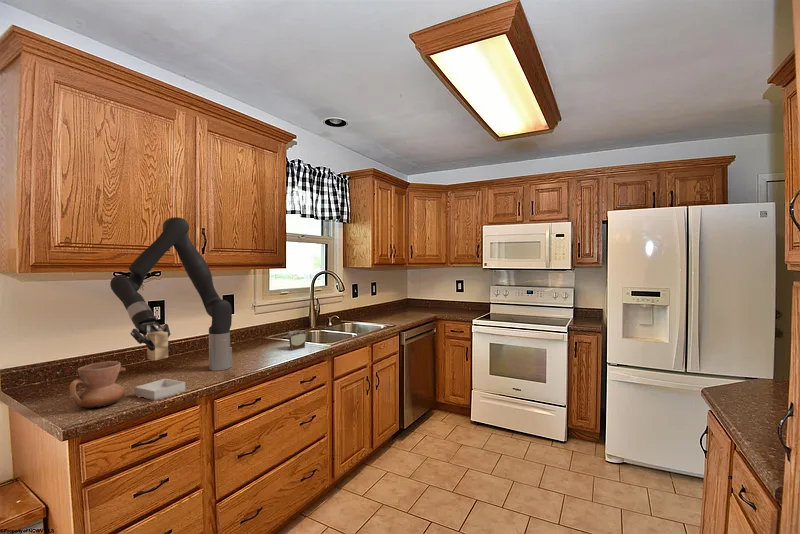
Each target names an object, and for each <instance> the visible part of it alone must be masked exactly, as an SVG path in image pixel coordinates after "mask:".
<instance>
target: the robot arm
mask: <svg viewBox="0 0 800 534" xmlns="http://www.w3.org/2000/svg"><path fill="white" fill-rule="evenodd" d="M189 230H190V225H189V222H188V221H187V220H186V219H185V218H182V217H178V216H177V217H175V216H174V217H169V218H167V219H166V220H165V221H163V223H162V232H161V233H160V235H159V236H158V237H157V238H156V239H155V240H154V242H152V243H151V244H150V245H149V246H147V248H146V249H144V250H143V251H142V252H141V253H140V254H139V255H138V256H137V257H136V258H135V259H134V260H133V262H132V263H131V264H130V265H129V266H128V271H129V272H130V274H129V277H127V276H126V275H123V274H119V275H116V276H113V277H112V278H111V280H110V283H109V285H110V286H109V287H110V288H111V291H112V292H113V293H114V295H115V296H116V297H117V298H118V299H119V300H120V301H121V303H122V304H123V307H124V308H125V310H126V311H127V314H128V317H129V318H130V320H131V322H132V324H133V326H134V327H135V328H133V329H132V330H131V332H130V333H129V334H130V335H131V336H132V337H133V339H134V340H135V341H136V342H137V343H138V344H139V345H141V344H145V345H146V348H147V347H148V349H149V350H151V351H154V349H155V346H154V344H153V343H152V341H151V340H150V337H149V334H148V333H152V332H160V331H163V332H168V338H169V337H170V336H171V332H170V331H171V330H170V328H169V324H168V323H165V324H160V323H159V322H158V319H157V318H156V316H155V314H154V312H153V311H152V309H151V307H150V305H148V304H147V302H146V301H145V299H144V297H143V296H142V294H141V293H139V292H138V291H139V290H140V288H141V287H142V284H143V282H144V280H145V279H146V277H147V275H148V274H149V273H150V272H151V270H152V269H153V268H154V267H155V266H156V265H157V263H158V262H159V261H160V260H161V259H162V257H164V255H165V254H166V253H167V252H168V251H169V250H170V249H171V248H172V247H174V249H175V251H176V253H177V256H178V258H179V260H180V262H181V264H182V267H183V268H184V270H185V273H186V274H187V276H188V278H189V279H190V281H191V283H192V285H193V287H194V288H195V290H196V292H197V293H198V294H199V296H200V298H201V301H202V305H203V306H204V307H203V308H204V310H205V312H206V313H207V315H209V317H211V325H210V326H209V327H208V370H210V371H212V372H213V371H214V372H215V371H216V372H217V371H224V370H229V369H230V368H231V367H233V348H232V346H231V327H232V319H233V318H232V317H233V316H232V315H233V310H232V309H233V308H232V305H231V303H230V301H228V300H225V299H221V297H220V296H219V294H218V293H217V291H216V288H215V286H214V282H213V275H212V272H211V269H210V268H209V265H208V263H207V262H206V260H205V258H204V256H203V255H201V253H200V251H198V249H197V248H196V247H195V246H194V244H193V243H192V241H191V239H190V237H189V235H188V233H189ZM170 345H171V342H170V340H168V348H169V347H170Z"/></svg>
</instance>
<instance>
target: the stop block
mask: <svg viewBox="0 0 800 534" xmlns="http://www.w3.org/2000/svg"><path fill="white" fill-rule="evenodd" d="M148 334H149V337H150V340H151V341H152V343H153V344H154V346H155V349H154V351H151V350H149V349H148V347H147V346H146V349H147V350H146V353H147V360H152V361H159V360H163V359H167V358H169V347H168V341H169V337H168V332H163V331H160V332H152V333H148Z"/></svg>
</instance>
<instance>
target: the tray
mask: <svg viewBox="0 0 800 534" xmlns="http://www.w3.org/2000/svg"><path fill="white" fill-rule="evenodd" d="M183 392H184V393H185V392H186V382H185V381H181V380H176V379H170V378H162V379H158V380H154V381H152V382H151V381H150V382H147V383H144V384H140V385H137V386H134V396H135V395H136V396H140V397H144V398H147V399H146V400H148V399H151V400H150V401H153V400H154V401H153V402H156V401H158V399H159V400H162V399H165V398H168V397H169V398H170V397H171V396H175V395H177V394H180V393H183ZM136 396H135V397H136ZM140 397H139V398H140ZM144 398H143V399H144ZM155 400H156V401H155Z"/></svg>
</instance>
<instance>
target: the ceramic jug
mask: <svg viewBox="0 0 800 534" xmlns="http://www.w3.org/2000/svg"><path fill="white" fill-rule="evenodd" d="M126 369H127V368H126V367H123V366H122V364H121V362H120V361H117V360H112V361H111V360H110V361H107V360H106V361H101V362H95V363H94V362H93V363H90V364H87V365H84V366H80V367H79V368H77V374H78V375H79V378H77V379H74V380H73V381H72V382H70V385H69V393H70V395H71V397H72V398H73V399H74V403H75V405H76V406H78V407H81V408H87V409H94V407H97V408H102V407H101V406H103V407H106V405H107V406H110V405H112V404H115V403H118V402H119V401H120V400H122V398H124V397H125V395H126V389H125V387H124V386H122V385H120V384H118V383H116V380H117V378H118V376H119V374H120V372H125V371H126ZM78 384H83V385H84V386H85V388H84V389H83V390H82V391H81V392H80V393H78V392H77V389H76V388H77V385H78Z"/></svg>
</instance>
